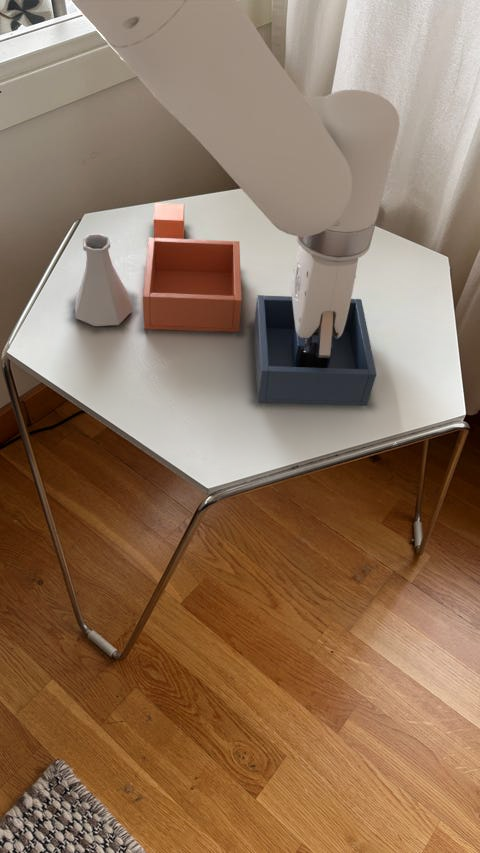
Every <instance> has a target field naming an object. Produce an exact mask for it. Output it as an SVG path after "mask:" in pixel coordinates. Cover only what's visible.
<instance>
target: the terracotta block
mask: <svg viewBox="0 0 480 853" xmlns="http://www.w3.org/2000/svg"><path fill="white" fill-rule="evenodd" d="M153 238H170V239H185V203H163V202H155V203H154V211H153Z"/></svg>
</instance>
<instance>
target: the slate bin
mask: <svg viewBox="0 0 480 853" xmlns="http://www.w3.org/2000/svg"><path fill="white" fill-rule="evenodd" d="M294 328H295V320H294V312H293V302H292V296H288V295H287V296H285V295H260V294H257V296H256V304H255V313H254V322H253V332H254V333H253V337H254V357H255V376H256V377H255V378H256V390H257V391H256V394H257V403H270V404H271V403H273V404H275V403H276V404H277V403H278V404H310V405H311V404H312V405H343V406H344V405H346V406H347V405H348V406H368V404H369V400H370V398H371V395H372V391H373V387H374V384H375V380H376V377H377V369H376V365H375V360H374V356H373V349H372V345H371V340H370V335H369V330H368V326H367V320H366V315H365V311H364V306H363V301H362V299H361V298H351V302H350V306H349V311H348V316H347V320H346V324H345V327H344V330H343V333H342V335H341V336H340V337H339V338H338V339H336V338H335V337H334V334H333V337H332V344H333V349H332V353H331V358H330V362H329V366H328V368H306V367H293V359H292V349H291V345H292V340H293V334H294Z"/></svg>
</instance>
